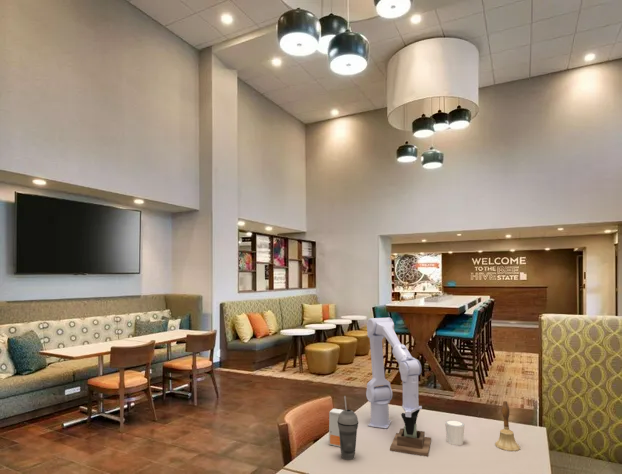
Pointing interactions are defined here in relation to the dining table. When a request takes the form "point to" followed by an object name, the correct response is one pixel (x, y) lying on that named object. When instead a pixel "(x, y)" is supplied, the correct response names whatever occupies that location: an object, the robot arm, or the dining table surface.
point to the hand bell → (506, 433)
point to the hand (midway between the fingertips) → (411, 431)
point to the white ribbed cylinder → (454, 432)
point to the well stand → (411, 443)
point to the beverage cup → (347, 432)
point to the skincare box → (334, 427)
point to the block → (413, 432)
